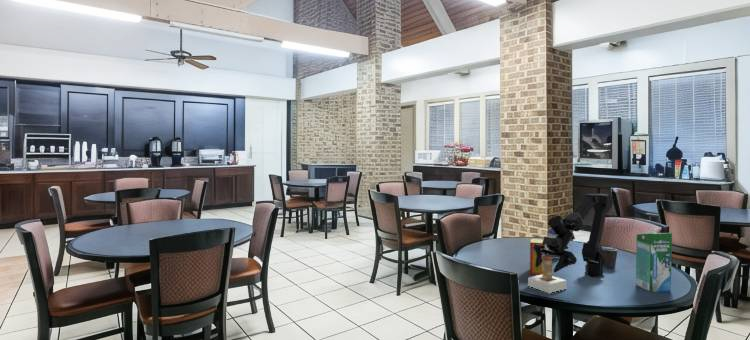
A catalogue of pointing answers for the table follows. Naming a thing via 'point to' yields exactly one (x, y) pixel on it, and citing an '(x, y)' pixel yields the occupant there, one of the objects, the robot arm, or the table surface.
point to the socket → (547, 284)
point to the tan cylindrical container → (547, 267)
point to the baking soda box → (533, 257)
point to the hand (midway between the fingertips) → (545, 269)
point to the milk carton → (654, 261)
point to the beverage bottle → (552, 235)
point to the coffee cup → (610, 256)
